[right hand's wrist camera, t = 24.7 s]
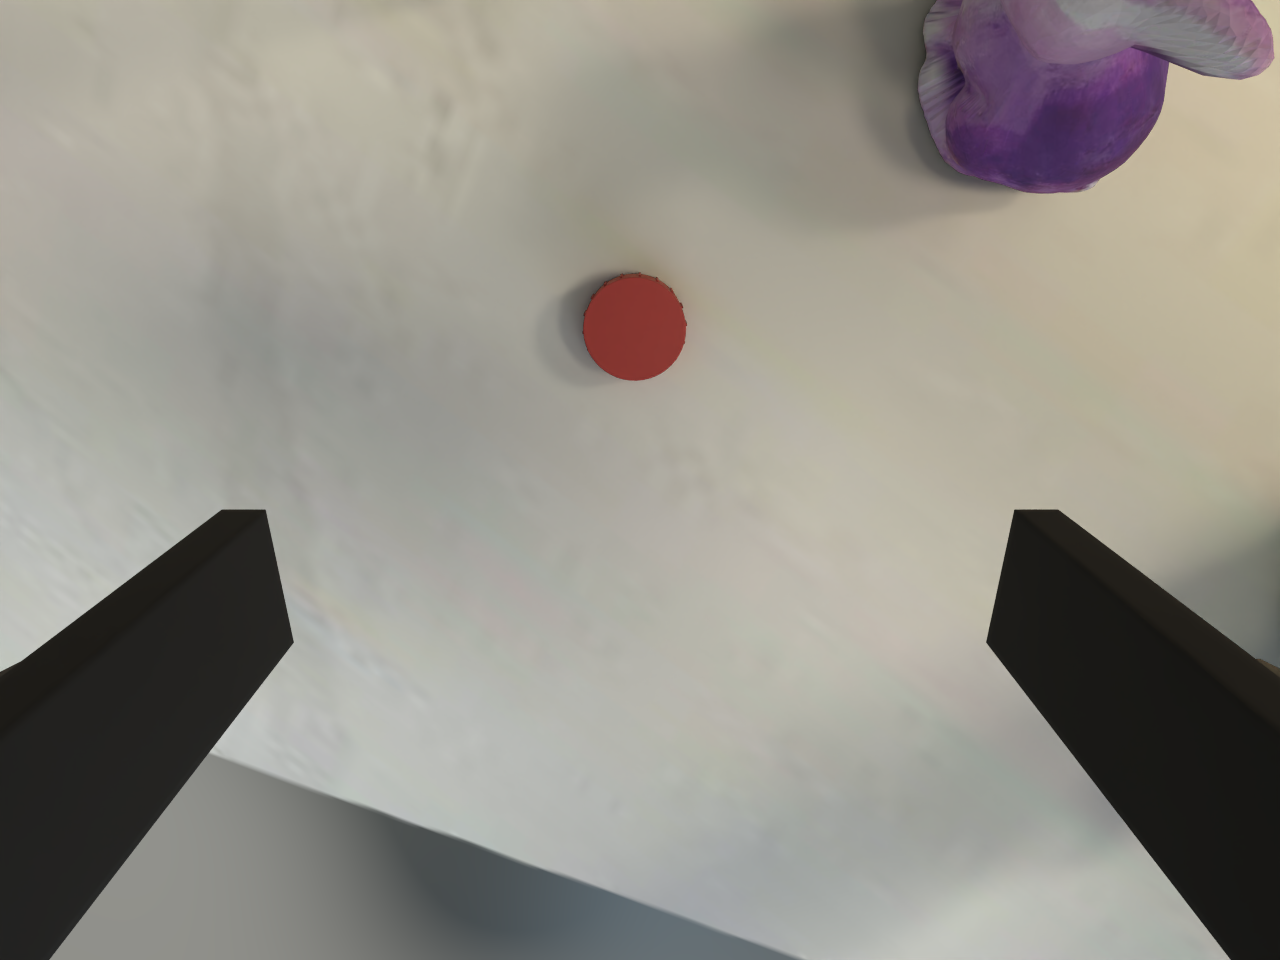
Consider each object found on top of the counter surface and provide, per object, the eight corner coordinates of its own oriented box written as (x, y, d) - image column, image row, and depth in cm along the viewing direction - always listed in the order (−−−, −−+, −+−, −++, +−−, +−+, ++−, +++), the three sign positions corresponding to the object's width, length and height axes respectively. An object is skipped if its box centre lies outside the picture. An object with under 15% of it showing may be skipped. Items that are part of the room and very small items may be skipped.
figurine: (901, -53, 31) (1117, -256, 17) (1135, -37, 31) (1539, -225, 17) (863, 184, 34) (1017, 179, 20) (1074, 197, 34) (1369, 199, 21)
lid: (700, 349, 37) (703, 356, 36) (610, 389, 38) (609, 397, 37) (661, 254, 36) (662, 257, 34) (567, 299, 36) (563, 304, 35)
